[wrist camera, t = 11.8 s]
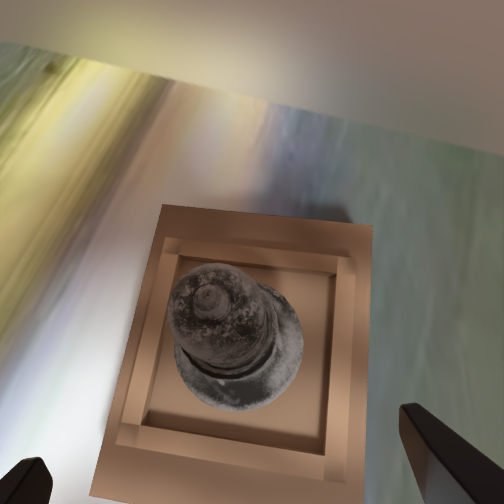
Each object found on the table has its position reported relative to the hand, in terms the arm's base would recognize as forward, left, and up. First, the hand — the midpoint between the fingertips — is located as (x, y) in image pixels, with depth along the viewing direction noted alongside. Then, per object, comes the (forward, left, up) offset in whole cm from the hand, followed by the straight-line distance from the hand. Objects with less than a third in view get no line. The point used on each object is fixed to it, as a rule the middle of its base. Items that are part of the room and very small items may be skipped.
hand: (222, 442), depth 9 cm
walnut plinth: (+3, +1, -13) cm, 14 cm away
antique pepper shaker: (+3, +1, -11) cm, 11 cm away
